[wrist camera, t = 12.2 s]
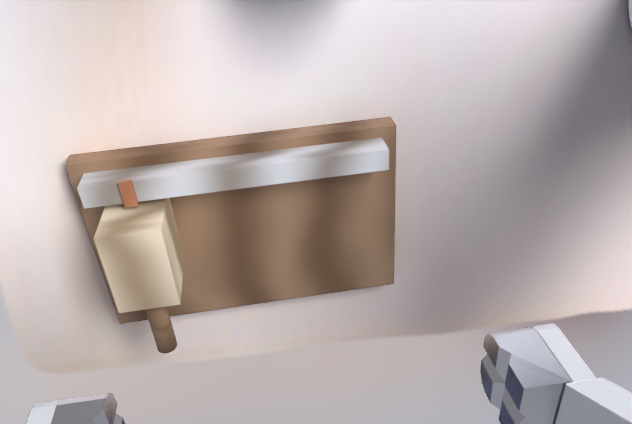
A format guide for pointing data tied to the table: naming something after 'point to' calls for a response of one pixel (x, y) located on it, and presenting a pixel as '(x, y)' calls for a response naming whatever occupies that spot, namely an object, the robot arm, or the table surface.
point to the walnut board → (260, 210)
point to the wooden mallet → (143, 262)
